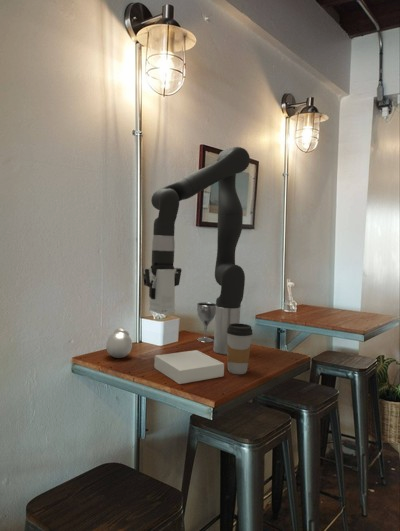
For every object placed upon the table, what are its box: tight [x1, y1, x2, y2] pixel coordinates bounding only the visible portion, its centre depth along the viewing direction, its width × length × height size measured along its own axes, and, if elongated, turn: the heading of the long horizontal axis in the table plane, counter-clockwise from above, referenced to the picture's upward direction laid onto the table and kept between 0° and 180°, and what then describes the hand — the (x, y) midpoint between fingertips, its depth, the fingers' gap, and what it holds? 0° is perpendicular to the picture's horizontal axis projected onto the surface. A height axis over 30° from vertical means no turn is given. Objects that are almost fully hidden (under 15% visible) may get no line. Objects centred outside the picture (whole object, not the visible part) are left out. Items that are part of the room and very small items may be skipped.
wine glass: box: [196, 302, 216, 343], centre depth 174 cm, size 8×8×15 cm
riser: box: [154, 349, 225, 385], centre depth 134 cm, size 16×16×4 cm
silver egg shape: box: [105, 327, 133, 359], centre depth 145 cm, size 9×10×10 cm
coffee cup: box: [226, 323, 253, 375], centre depth 137 cm, size 8×8×15 cm
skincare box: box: [148, 269, 175, 315], centre depth 143 cm, size 8×6×15 cm
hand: (161, 298), depth 143 cm, fingers closed on skincare box, 6 cm apart
